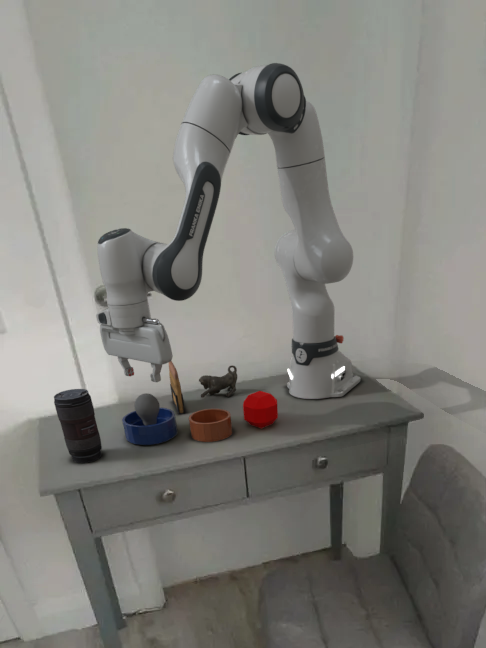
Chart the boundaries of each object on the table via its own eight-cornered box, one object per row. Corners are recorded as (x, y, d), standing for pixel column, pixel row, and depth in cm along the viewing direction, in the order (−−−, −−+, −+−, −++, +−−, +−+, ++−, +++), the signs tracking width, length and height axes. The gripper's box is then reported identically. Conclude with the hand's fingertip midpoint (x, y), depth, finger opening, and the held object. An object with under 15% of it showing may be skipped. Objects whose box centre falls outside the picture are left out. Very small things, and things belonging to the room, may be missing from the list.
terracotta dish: (211, 423, 156) (208, 405, 153) (240, 430, 150) (239, 413, 148) (182, 436, 150) (180, 418, 147) (212, 445, 144) (210, 426, 142)
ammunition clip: (185, 413, 163) (178, 367, 155) (178, 414, 162) (171, 368, 155) (179, 400, 171) (172, 356, 164) (172, 401, 171) (165, 357, 163)
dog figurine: (234, 388, 177) (232, 362, 172) (242, 394, 172) (239, 367, 168) (195, 396, 173) (192, 369, 169) (202, 402, 169) (198, 375, 164)
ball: (262, 416, 158) (260, 386, 153) (284, 423, 153) (282, 393, 148) (239, 425, 153) (236, 395, 149) (261, 433, 148) (258, 402, 144)
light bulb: (137, 432, 152) (129, 392, 146) (160, 427, 154) (153, 388, 148) (143, 440, 148) (135, 400, 142) (167, 435, 149) (160, 395, 143)
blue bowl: (153, 423, 158) (150, 404, 155) (188, 432, 152) (185, 413, 149) (115, 439, 151) (111, 420, 148) (150, 450, 144) (146, 430, 141)
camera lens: (105, 448, 147) (90, 386, 138) (103, 462, 140) (88, 397, 131) (71, 452, 146) (54, 389, 137) (68, 466, 140) (50, 401, 131)
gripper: (172, 316, 131) (183, 380, 139) (112, 308, 142) (125, 368, 150) (151, 323, 127) (163, 389, 135) (90, 314, 138) (105, 376, 146)
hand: (142, 378), depth 143 cm, fingers open, 8 cm apart
